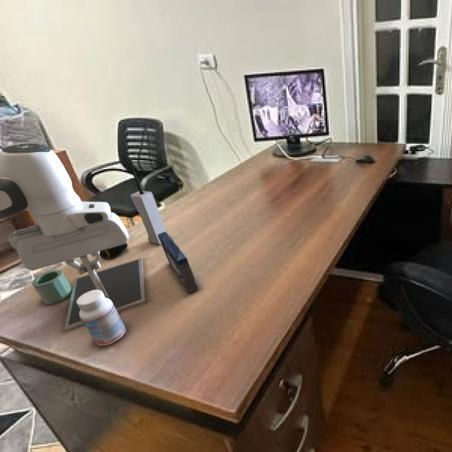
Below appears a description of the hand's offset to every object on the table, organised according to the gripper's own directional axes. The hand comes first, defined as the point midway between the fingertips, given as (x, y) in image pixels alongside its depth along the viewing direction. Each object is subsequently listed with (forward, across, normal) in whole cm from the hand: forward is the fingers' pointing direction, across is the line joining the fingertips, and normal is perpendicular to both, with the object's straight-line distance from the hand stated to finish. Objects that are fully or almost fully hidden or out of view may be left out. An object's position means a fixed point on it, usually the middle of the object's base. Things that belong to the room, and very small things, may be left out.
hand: (90, 270), depth 82 cm
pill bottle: (+10, +1, -14) cm, 17 cm away
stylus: (+9, 0, 0) cm, 9 cm away
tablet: (+10, 0, +5) cm, 11 cm away
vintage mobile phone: (+10, +14, +25) cm, 31 cm away
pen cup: (+10, -12, +11) cm, 19 cm away
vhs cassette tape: (+10, +18, 0) cm, 21 cm away
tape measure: (+10, +1, +26) cm, 28 cm away
